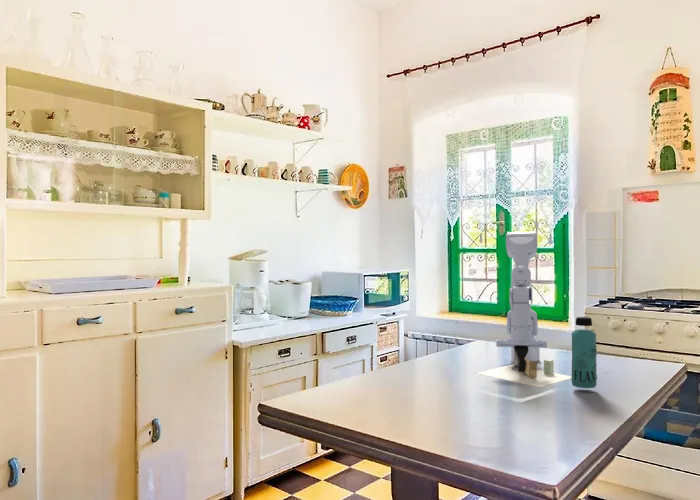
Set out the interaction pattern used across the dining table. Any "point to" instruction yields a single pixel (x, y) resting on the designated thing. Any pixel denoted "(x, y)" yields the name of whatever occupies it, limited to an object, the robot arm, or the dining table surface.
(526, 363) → the tan wooden bar
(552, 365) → the latch post
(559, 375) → the board
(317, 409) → the dining table surface
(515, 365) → the hinge post
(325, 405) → the dining table surface
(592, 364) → the beverage bottle
